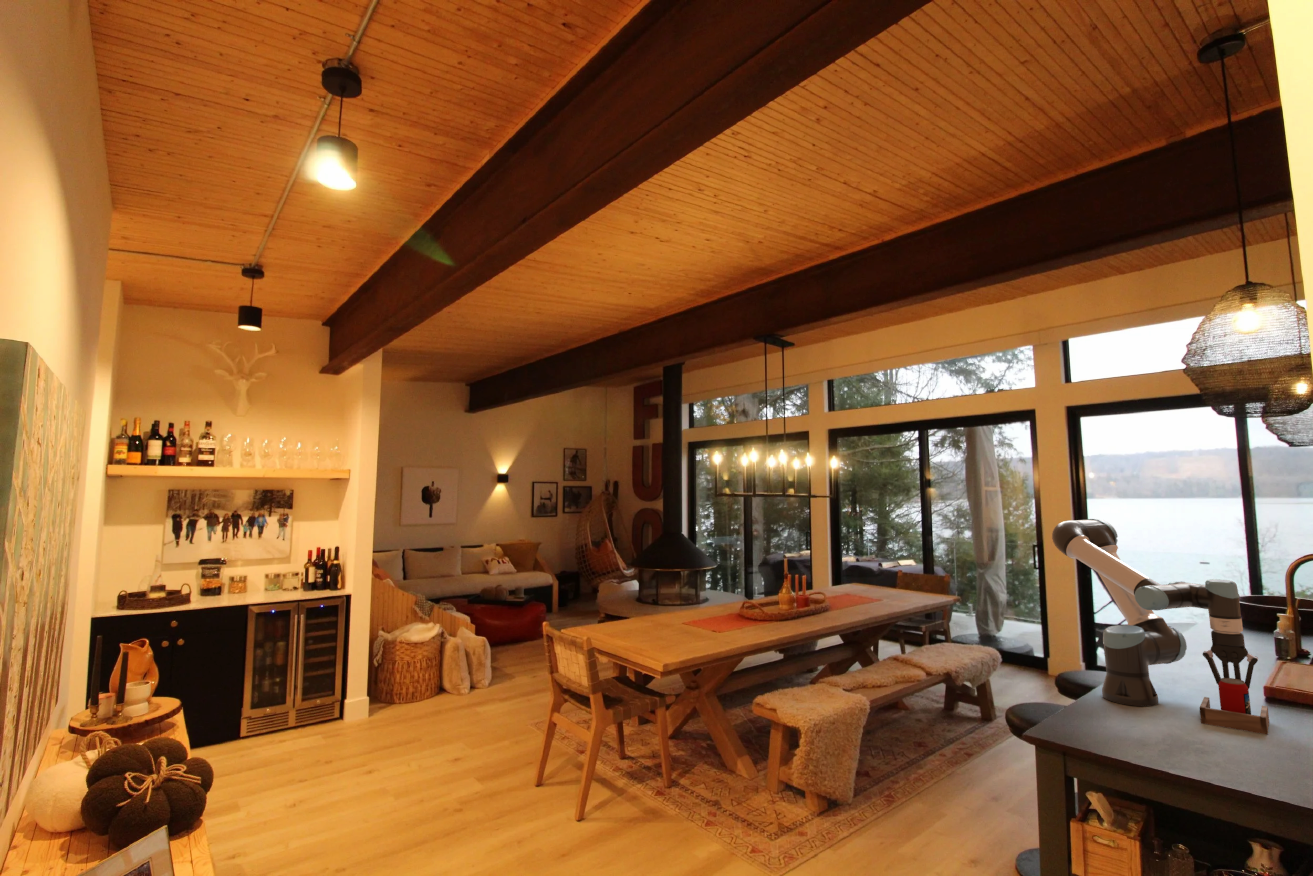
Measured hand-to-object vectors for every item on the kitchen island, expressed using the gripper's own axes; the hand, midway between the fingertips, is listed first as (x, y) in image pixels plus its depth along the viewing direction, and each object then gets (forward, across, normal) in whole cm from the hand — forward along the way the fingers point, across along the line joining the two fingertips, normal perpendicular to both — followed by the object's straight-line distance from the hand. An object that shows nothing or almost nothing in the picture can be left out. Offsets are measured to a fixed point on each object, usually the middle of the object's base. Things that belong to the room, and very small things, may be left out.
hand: (1236, 710), depth 195 cm
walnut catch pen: (+2, 0, -6) cm, 6 cm away
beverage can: (+2, 0, -5) cm, 5 cm away
